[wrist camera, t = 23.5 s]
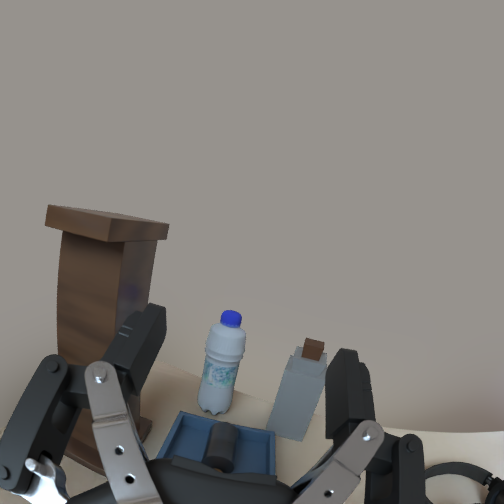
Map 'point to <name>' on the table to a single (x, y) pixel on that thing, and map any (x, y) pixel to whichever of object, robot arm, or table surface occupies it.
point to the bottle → (221, 363)
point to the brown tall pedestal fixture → (100, 297)
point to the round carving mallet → (221, 447)
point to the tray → (195, 438)
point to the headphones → (500, 492)
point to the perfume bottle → (299, 391)
